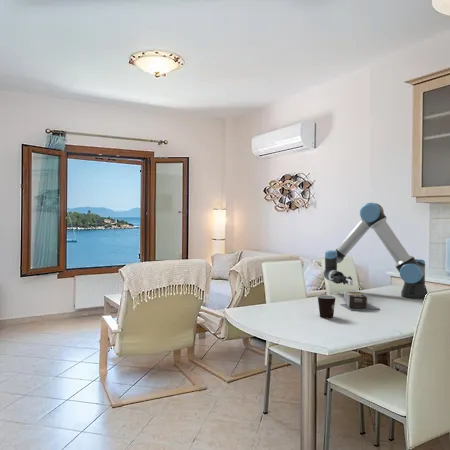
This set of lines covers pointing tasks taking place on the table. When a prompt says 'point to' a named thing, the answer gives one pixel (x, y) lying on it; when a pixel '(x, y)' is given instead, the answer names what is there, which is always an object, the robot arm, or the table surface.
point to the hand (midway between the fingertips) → (351, 282)
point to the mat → (368, 307)
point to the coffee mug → (326, 306)
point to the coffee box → (355, 299)
